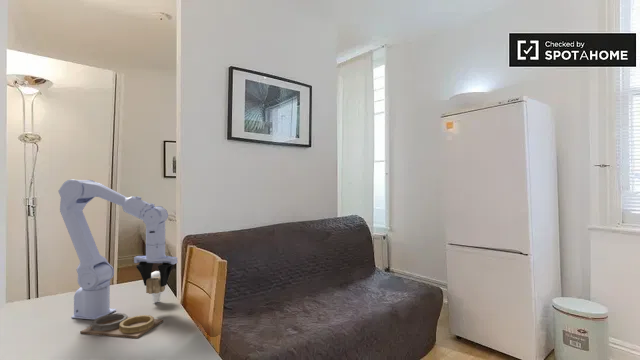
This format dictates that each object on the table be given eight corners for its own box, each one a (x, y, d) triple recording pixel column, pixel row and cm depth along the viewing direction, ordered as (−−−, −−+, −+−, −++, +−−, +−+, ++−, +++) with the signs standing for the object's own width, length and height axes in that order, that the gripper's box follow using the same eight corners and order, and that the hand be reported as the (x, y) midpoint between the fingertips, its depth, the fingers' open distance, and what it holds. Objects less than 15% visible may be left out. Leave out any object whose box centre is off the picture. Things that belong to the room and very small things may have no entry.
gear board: (80, 333, 92) (80, 326, 92) (111, 317, 103) (111, 311, 103) (137, 338, 89) (137, 330, 89) (163, 321, 100) (163, 314, 100)
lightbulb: (158, 306, 113) (158, 274, 113) (142, 304, 114) (142, 273, 114) (169, 299, 119) (169, 269, 119) (154, 298, 120) (154, 268, 120)
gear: (142, 293, 105) (142, 280, 105) (153, 288, 110) (153, 275, 110) (157, 294, 104) (157, 281, 104) (168, 288, 109) (168, 276, 109)
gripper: (182, 242, 110) (183, 282, 110) (144, 241, 112) (144, 280, 112) (169, 246, 103) (169, 289, 103) (129, 244, 105) (129, 287, 105)
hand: (155, 285), depth 107 cm, fingers closed on gear, 5 cm apart
